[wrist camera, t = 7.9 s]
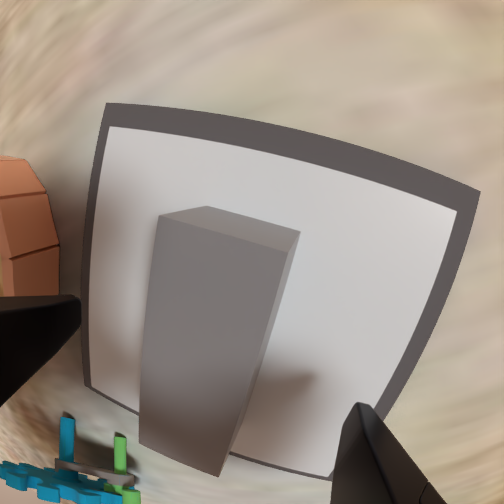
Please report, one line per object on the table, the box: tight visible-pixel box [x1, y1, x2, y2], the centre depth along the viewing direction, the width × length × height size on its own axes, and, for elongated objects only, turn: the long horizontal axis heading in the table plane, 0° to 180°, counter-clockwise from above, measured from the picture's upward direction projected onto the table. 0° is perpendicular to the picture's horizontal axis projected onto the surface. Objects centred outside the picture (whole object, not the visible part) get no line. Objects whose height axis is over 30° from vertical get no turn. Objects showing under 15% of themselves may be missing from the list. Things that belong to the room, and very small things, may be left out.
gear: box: [0, 417, 141, 504], centre depth 14 cm, size 11×6×10 cm
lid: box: [89, 126, 457, 477], centre depth 9 cm, size 12×12×4 cm
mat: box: [81, 103, 481, 481], centre depth 11 cm, size 14×14×1 cm
